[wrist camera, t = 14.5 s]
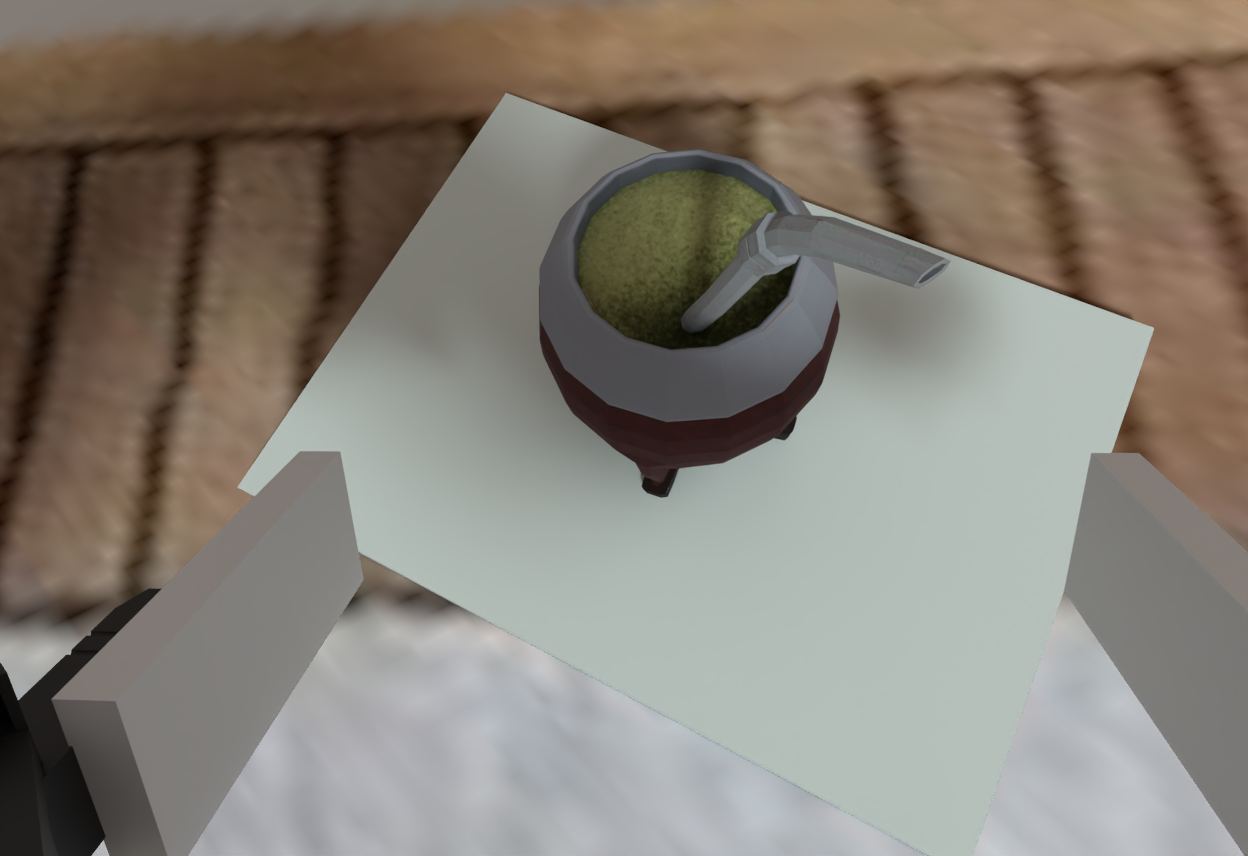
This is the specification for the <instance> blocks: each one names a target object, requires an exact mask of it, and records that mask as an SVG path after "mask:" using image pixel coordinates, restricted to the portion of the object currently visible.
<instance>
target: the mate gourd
mask: <svg viewBox="0 0 1248 856" xmlns="http://www.w3.org/2000/svg"><path fill="white" fill-rule="evenodd" d="M833 262H835V263H838V264H841V265H844V266H847V267H850V268H854V269H857V270H860V271H863V272H866V273H869V274H872V275H876V276H879V277H882V278H885V279H888V280H891V281H895V282H898V283H901V284H904V285H907V286H910V287H914V288H917V289H919V288H921V287H922V286H924V285H926V284H928V283H929V282H931V281H932V280H934V279H935V278H936V277H937V276H939V275H940V274H941V273H943V272H944V271H945V269H946V268H947V266H948V265H949V263H950V262H951V261H950V260H948V259H946V258H943V257H941V256H938V255H936V254H933V253H931V252H929V251H926V250H924V249H921V248H918V247H916V246H913V245H910V244H907V243H904V242H902V241H899V240H896V239H893V238H891V237H888V236H885V235H882V234H879V233H877V232H874V231H871V230H868V229H866V228H863V227H860V226H857V225H855V224H852V223H849V222H846V221H843V220H841V219H838V218H835V217H826V216H815V215H812V214H811V213H810V211H809V210H808V209H807V207H806V206H805V204H804V203H803V201H802V200H801V198H800V197H799V196H798V195H797V194H796V193H795V192H794V191H793V190H792V189H790V188H789V187H787V186H786V185H784V184H783V183H781V182H780V181H778V180H777V179H775V178H774V177H772V176H771V175H769V174H768V173H766V172H765V171H763V170H762V169H760V168H759V167H757V166H756V165H754V164H753V163H751V162H749V161H747V160H745V159H741V158H736V157H732V156H728V155H724V154H719V153H715V152H711V151H707V150H702V149H692V150H681V151H670V152H659V153H652V154H650V155H647V156H645V157H643V158H640V159H638V160H636V161H634V162H631V163H629V164H627V165H625V166H622V167H620V168H618V169H615V170H613V171H611V172H609V173H608V174H606V175H604V176H603V177H602V178H601V179H600V180H599V181H598V182H597V183H596V184H595V185H593V186H592V187H591V188H590V189H589V190H588V191H587V192H586V193H585V194H584V195H583V196H582V197H581V198H580V199H579V200H578V201H577V202H576V203H575V204H574V205H573V206H571V207H570V208H569V209H568V211H567V212H566V213H565V214H564V216H563V217H562V218H561V220H560V222H559V224H558V227H557V229H556V231H555V233H554V236H553V238H552V240H551V242H550V245H549V247H548V249H547V251H546V254H545V256H544V258H543V260H542V263H541V265H540V268H539V278H540V284H539V333H540V344H541V348H542V353H543V356H544V358H545V360H546V362H547V364H548V367H549V369H550V371H551V373H552V375H553V377H554V379H555V381H556V383H557V385H558V387H559V389H560V391H561V394H562V396H563V398H564V400H565V402H566V404H567V405H568V407H569V408H570V410H571V411H572V413H573V414H574V415H575V416H576V417H577V418H579V419H580V420H581V421H582V422H583V423H584V424H586V425H587V426H588V427H589V428H590V429H591V430H593V431H594V432H595V433H596V434H597V435H598V436H600V437H601V438H602V439H603V440H604V441H605V442H607V443H608V444H609V445H610V446H611V447H613V448H614V449H615V450H616V451H618V452H619V453H621V454H622V455H624V456H625V457H627V458H628V459H630V460H632V461H633V462H635V463H636V465H637V467H638V468H639V470H640V472H641V474H642V475H643V476H644V479H643V483H642V488H643V489H644V491H645V492H646V493H648V494H651V495H654V496H657V497H660V498H663V497H668V495H669V493H670V491H671V488H672V486H673V484H674V481H675V478H676V476H677V473H678V470H679V468H687V467H696V466H704V465H713V464H721V463H725V462H727V461H729V460H731V459H733V458H735V457H737V456H739V455H741V454H743V453H746V452H748V451H750V450H752V449H754V448H756V447H758V446H760V445H762V444H764V443H766V442H768V441H770V440H772V439H773V438H775V439H779V440H784V441H785V440H786V439H787V438H788V437H789V435H790V434H791V433H792V432H793V430H794V427H795V424H796V420H797V415H798V413H799V412H800V411H801V410H802V409H803V408H804V407H805V406H806V405H807V404H808V403H809V401H810V400H811V399H812V398H813V397H814V396H815V395H816V393H817V392H818V390H819V388H820V386H821V385H822V383H823V379H824V376H825V373H826V369H827V366H828V363H829V359H830V356H831V353H832V349H833V346H834V343H835V339H836V336H837V333H838V327H839V320H840V312H839V306H838V301H837V298H838V295H839V294H838V288H837V282H836V276H835V269H834V263H833Z"/></svg>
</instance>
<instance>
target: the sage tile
mask: <svg viewBox="0 0 1248 856" xmlns="http://www.w3.org/2000/svg"><path fill="white" fill-rule="evenodd" d="M659 152H667V151H665V150H662V149H659V148H656V147H654V146H651V145H648V144H645V143H643V142H640V141H637V140H634V139H632V138H629V137H626V136H623V135H621V134H618V133H615V132H612V131H610V130H607V129H604V128H601V127H599V126H596V125H593V124H590V123H588V122H585V121H582V120H579V119H577V118H574V117H571V116H568V115H566V114H563V113H560V112H557V111H554V110H552V109H549V108H546V107H543V106H541V105H538V104H535V103H532V102H530V101H527V100H524V99H521V98H519V97H516V96H513V95H510V94H508V93H506V94H505V95H504V97H503V98H502V100H501V101H500V103H499V104H498V106H497V107H496V108H495V110H494V111H493V113H492V114H491V116H490V117H489V119H488V120H487V122H486V123H485V125H484V126H483V128H482V129H481V130H480V132H479V133H478V135H477V136H476V138H475V139H474V141H473V142H472V144H471V145H470V147H469V148H468V150H467V151H466V152H465V154H464V155H463V157H462V158H461V160H460V161H459V163H458V164H457V166H456V167H455V169H454V170H453V172H452V173H451V174H450V176H449V177H448V179H447V180H446V182H445V183H444V185H443V186H442V188H441V189H440V191H439V192H438V194H437V195H436V197H435V198H434V199H433V201H432V202H431V204H430V205H429V207H428V208H427V210H426V211H425V213H424V214H423V216H422V217H421V219H420V220H419V221H418V223H417V224H416V226H415V227H414V229H413V230H412V232H411V233H410V235H409V236H408V238H407V239H406V241H405V242H404V243H403V245H402V246H401V248H400V249H399V251H398V252H397V254H396V255H395V257H394V258H393V260H392V261H391V263H390V264H389V265H388V267H387V268H386V270H385V271H384V273H383V274H382V276H381V277H380V279H379V280H378V282H377V283H376V285H375V286H374V287H373V289H372V290H371V292H370V293H369V295H368V296H367V298H366V299H365V301H364V302H363V304H362V305H361V307H360V308H359V309H358V311H357V312H356V314H355V315H354V317H353V318H352V320H351V321H350V323H349V324H348V326H347V327H346V329H345V330H344V331H343V333H342V334H341V336H340V337H339V339H338V340H337V342H336V343H335V345H334V346H333V348H332V349H331V351H330V352H329V353H328V355H327V356H326V358H325V359H324V361H323V362H322V364H321V365H320V367H319V368H318V370H317V371H316V373H315V374H314V375H313V377H312V378H311V380H310V381H309V383H308V384H307V386H306V387H305V389H304V390H303V392H302V393H301V395H300V396H299V397H298V399H297V400H296V402H295V403H294V405H293V406H292V408H291V409H290V411H289V412H288V414H287V415H286V417H285V418H284V419H283V421H282V422H281V424H280V425H279V427H278V428H277V430H276V431H275V433H274V434H273V436H272V437H271V439H270V440H269V441H268V443H267V444H266V446H265V447H264V449H263V450H262V452H261V453H260V455H259V456H258V458H257V459H256V461H255V462H254V463H253V465H252V466H251V468H250V469H249V471H248V472H247V474H246V475H245V477H244V478H243V480H242V481H241V483H240V484H239V485H238V488H240V489H241V490H243V491H245V492H246V493H248V494H249V495H251V496H253V497H254V496H255V495H256V494H257V493H258V492H259V491H260V490H261V489H262V488H263V487H264V486H265V485H266V484H267V483H268V482H269V481H270V480H271V479H272V478H273V477H274V476H275V475H276V474H277V473H278V472H279V471H280V470H281V469H282V468H283V467H284V466H285V465H286V464H287V463H288V462H289V461H290V460H291V459H292V458H293V457H294V456H295V455H296V454H297V453H299V452H300V451H340V453H341V458H342V464H343V469H344V475H345V480H346V486H347V491H348V497H349V502H350V508H351V514H352V519H353V525H354V530H355V536H356V541H357V547H358V552H359V553H360V554H362V555H364V556H366V557H368V558H369V559H371V560H373V561H375V562H377V563H379V564H381V565H383V566H384V567H386V568H388V569H390V570H392V571H394V572H396V573H398V574H399V575H401V576H403V577H405V578H407V579H409V580H411V581H413V582H415V583H416V584H418V585H420V586H422V587H424V588H426V589H428V590H430V591H431V592H433V593H435V594H437V595H439V596H441V597H443V598H445V599H446V600H448V601H450V602H452V603H454V604H456V605H458V606H460V607H461V608H463V609H465V610H467V611H469V612H471V613H473V614H475V615H476V616H478V617H480V618H482V619H484V620H486V621H488V622H490V623H491V624H493V625H495V626H497V627H499V628H501V629H503V630H505V631H507V632H508V633H510V634H512V635H514V636H516V637H518V638H520V639H522V640H523V641H525V642H527V643H529V644H531V645H533V646H535V647H537V648H538V649H540V650H542V651H544V652H546V653H548V654H550V655H552V656H553V657H555V658H557V659H559V660H561V661H563V662H565V663H567V664H568V665H570V666H572V667H574V668H576V669H578V670H580V671H582V672H583V673H585V674H587V675H589V676H591V677H593V678H595V679H597V680H598V681H600V682H602V683H604V684H606V685H608V686H610V687H612V688H614V689H615V690H617V691H619V692H621V693H623V694H625V695H627V696H629V697H630V698H632V699H634V700H636V701H638V702H640V703H642V704H644V705H645V706H647V707H649V708H651V709H653V710H655V711H657V712H659V713H660V714H662V715H664V716H666V717H668V718H670V719H672V720H674V721H675V722H677V723H679V724H681V725H683V726H685V727H687V728H689V729H690V730H692V731H694V732H696V733H698V734H700V735H702V736H704V737H706V738H707V739H709V740H711V741H713V742H715V743H717V744H719V745H721V746H722V747H724V748H726V749H728V750H730V751H732V752H734V753H736V754H737V755H739V756H741V757H743V758H745V759H747V760H749V761H751V762H752V763H754V764H756V765H758V766H760V767H762V768H764V769H766V770H767V771H769V772H771V773H773V774H775V775H777V776H779V777H781V778H782V779H784V780H786V781H788V782H790V783H792V784H794V785H796V786H797V787H799V788H801V789H803V790H805V791H807V792H809V793H811V794H813V795H814V796H816V797H818V798H820V799H822V800H824V801H826V802H828V803H829V804H831V805H833V806H835V807H837V808H839V809H841V810H843V811H844V812H846V813H848V814H850V815H852V816H854V817H856V818H858V819H859V820H861V821H863V822H865V823H867V824H869V825H871V826H873V827H874V828H876V829H878V830H880V831H882V832H884V833H886V834H888V835H889V836H891V837H893V838H895V839H897V840H899V841H901V842H903V843H904V844H906V845H908V846H910V847H912V848H914V849H916V850H918V851H920V852H921V853H923V854H925V855H927V856H973V854H974V851H975V848H976V845H977V842H978V839H979V836H980V833H981V831H982V828H983V825H984V822H985V819H986V816H987V813H988V810H989V807H990V804H991V801H992V799H993V796H994V793H995V790H996V787H997V784H998V781H999V778H1000V775H1001V772H1002V769H1003V767H1004V764H1005V761H1006V758H1007V755H1008V752H1009V749H1010V746H1011V743H1012V740H1013V737H1014V735H1015V732H1016V729H1017V726H1018V723H1019V720H1020V717H1021V714H1022V711H1023V708H1024V705H1025V703H1026V700H1027V697H1028V694H1029V691H1030V688H1031V685H1032V682H1033V679H1034V676H1035V673H1036V671H1037V668H1038V665H1039V662H1040V659H1041V656H1042V653H1043V650H1044V647H1045V644H1046V641H1047V639H1048V636H1049V633H1050V630H1051V627H1052V624H1053V621H1054V618H1055V615H1056V612H1057V610H1058V607H1059V604H1060V601H1061V598H1062V595H1063V592H1064V588H1065V583H1066V578H1067V573H1068V568H1069V563H1070V558H1071V553H1072V548H1073V542H1074V537H1075V532H1076V527H1077V522H1078V517H1079V512H1080V507H1081V502H1082V497H1083V492H1084V487H1085V482H1086V477H1087V472H1088V467H1089V462H1090V457H1091V453H1111V452H1112V450H1113V447H1114V444H1115V441H1116V438H1117V435H1118V432H1119V429H1120V426H1121V423H1122V420H1123V418H1124V415H1125V412H1126V409H1127V406H1128V403H1129V400H1130V397H1131V394H1132V391H1133V388H1134V386H1135V383H1136V380H1137V377H1138V374H1139V371H1140V368H1141V365H1142V362H1143V359H1144V356H1145V354H1146V351H1147V348H1148V345H1149V342H1150V339H1151V336H1152V333H1153V330H1154V328H1153V327H1150V326H1147V325H1144V324H1142V323H1139V322H1136V321H1133V320H1130V319H1128V318H1125V317H1122V316H1119V315H1117V314H1114V313H1111V312H1108V311H1106V310H1103V309H1100V308H1097V307H1095V306H1092V305H1089V304H1086V303H1084V302H1081V301H1078V300H1075V299H1073V298H1070V297H1067V296H1064V295H1062V294H1059V293H1056V292H1053V291H1051V290H1048V289H1045V288H1042V287H1040V286H1037V285H1034V284H1031V283H1029V282H1026V281H1023V280H1020V279H1017V278H1015V277H1012V276H1009V275H1006V274H1004V273H1001V272H998V271H995V270H993V269H990V268H987V267H984V266H982V265H979V264H976V263H973V262H971V261H968V260H965V259H962V258H960V257H957V256H954V255H951V254H949V253H946V252H943V251H940V250H938V249H935V248H932V247H929V246H927V245H924V244H921V243H918V242H916V241H913V240H910V239H907V238H905V237H902V236H899V235H896V234H893V233H891V232H888V231H885V230H882V229H880V228H877V227H874V226H871V225H869V224H866V223H863V222H860V221H858V220H855V219H852V218H849V217H847V216H844V215H841V214H838V213H836V212H833V211H830V210H827V209H825V208H822V207H819V206H816V205H814V204H811V203H808V202H805V201H803V200H802V201H803V203H804V204H805V206H806V207H807V209H808V210H809V211H810V213H811V214H812V215H815V216H826V217H835V218H838V219H841V220H843V221H846V222H849V223H852V224H855V225H857V226H860V227H863V228H866V229H868V230H871V231H874V232H877V233H879V234H882V235H885V236H888V237H891V238H893V239H896V240H899V241H902V242H904V243H907V244H910V245H913V246H916V247H918V248H921V249H924V250H926V251H929V252H931V253H933V254H936V255H938V256H941V257H943V258H946V259H948V260H950V261H951V262H950V263H949V265H948V266H947V268H946V269H945V271H944V272H943V273H941V274H940V275H939V276H937V277H936V278H935V279H934V280H932V281H931V282H929V283H928V284H926V285H924V286H922V287H921V288H919V289H917V288H914V287H910V286H907V285H904V284H901V283H898V282H895V281H891V280H888V279H885V278H882V277H879V276H876V275H872V274H869V273H866V272H863V271H860V270H857V269H854V268H850V267H847V266H844V265H841V264H838V263H835V262H833V263H834V269H835V276H836V282H837V288H838V294H839V295H838V298H837V301H838V306H839V312H840V320H839V327H838V333H837V336H836V339H835V343H834V346H833V349H832V353H831V356H830V359H829V363H828V366H827V369H826V373H825V376H824V379H823V383H822V385H821V386H820V388H819V390H818V392H817V393H816V395H815V396H814V397H813V398H812V399H811V400H810V401H809V403H808V404H807V405H806V406H805V407H804V408H803V409H802V410H801V411H800V412H799V413H798V415H797V420H796V424H795V427H794V430H793V432H792V433H791V434H790V435H789V437H788V438H787V439H786V440H785V441H784V440H779V439H775V438H773V439H772V440H770V441H768V442H766V443H764V444H762V445H760V446H758V447H756V448H754V449H752V450H750V451H748V452H746V453H743V454H741V455H739V456H737V457H735V458H733V459H731V460H729V461H727V462H725V463H721V464H713V465H704V466H696V467H687V468H679V470H678V473H677V476H676V478H675V481H674V484H673V486H672V488H671V491H670V493H669V495H668V497H663V498H660V497H657V496H654V495H651V494H648V493H646V492H645V491H644V489H643V488H642V483H643V479H644V476H643V475H642V474H641V472H640V470H639V468H638V467H637V465H636V463H635V462H633V461H632V460H630V459H628V458H627V457H625V456H624V455H622V454H621V453H619V452H618V451H616V450H615V449H614V448H613V447H611V446H610V445H609V444H608V443H607V442H605V441H604V440H603V439H602V438H601V437H600V436H598V435H597V434H596V433H595V432H594V431H593V430H591V429H590V428H589V427H588V426H587V425H586V424H584V423H583V422H582V421H581V420H580V419H579V418H577V417H576V416H575V415H574V414H573V413H572V411H571V410H570V408H569V407H568V405H567V404H566V402H565V400H564V398H563V396H562V394H561V391H560V389H559V387H558V385H557V383H556V381H555V379H554V377H553V375H552V373H551V371H550V369H549V367H548V364H547V362H546V360H545V358H544V356H543V353H542V348H541V344H540V333H539V284H540V278H539V268H540V265H541V263H542V260H543V258H544V256H545V254H546V251H547V249H548V247H549V245H550V242H551V240H552V238H553V236H554V233H555V231H556V229H557V227H558V224H559V222H560V220H561V218H562V217H563V216H564V214H565V213H566V212H567V211H568V209H569V208H570V207H571V206H573V205H574V204H575V203H576V202H577V201H578V200H579V199H580V198H581V197H582V196H583V195H584V194H585V193H586V192H587V191H588V190H589V189H590V188H591V187H592V186H593V185H595V184H596V183H597V182H598V181H599V180H600V179H601V178H602V177H603V176H604V175H606V174H608V173H609V172H611V171H613V170H615V169H618V168H620V167H622V166H625V165H627V164H629V163H631V162H634V161H636V160H638V159H640V158H643V157H645V156H647V155H650V154H652V153H659Z"/></svg>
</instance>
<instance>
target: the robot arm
mask: <svg viewBox="0 0 1248 856" xmlns="http://www.w3.org/2000/svg"><path fill="white" fill-rule="evenodd" d="M362 581H363V574H362V569H361V563H360V558H359V552H358V547H357V541H356V536H355V530H354V525H353V519H352V514H351V508H350V502H349V497H348V491H347V486H346V480H345V475H344V469H343V464H342V458H341V453H340V451H300V452H299V453H297V454H296V455H295V456H294V457H293V458H292V459H291V460H290V461H289V462H288V463H287V464H286V465H285V466H284V467H283V468H282V469H281V470H280V471H279V472H278V473H277V474H276V475H275V476H274V477H273V478H272V479H271V480H270V481H269V482H268V483H267V484H266V485H265V486H264V487H263V488H262V489H261V490H260V491H259V492H258V493H257V494H256V495H255V496H254V497H253V498H252V499H251V500H250V501H249V502H248V503H247V504H246V505H245V506H244V507H243V508H242V509H241V510H240V511H239V512H238V513H237V514H236V515H235V516H234V517H233V518H232V519H231V520H230V521H229V522H228V523H227V524H226V525H225V526H224V527H223V528H222V529H221V530H220V531H219V532H218V533H217V534H216V535H215V536H214V537H213V538H212V539H211V540H210V541H209V542H208V543H207V544H206V545H205V546H204V547H203V548H202V549H201V550H200V551H199V552H198V553H197V554H196V555H195V556H194V557H193V558H192V559H191V560H190V561H189V562H188V563H187V564H186V565H185V566H184V567H183V568H182V569H181V570H180V571H179V572H178V573H177V574H176V575H175V576H174V577H173V578H172V579H171V580H170V581H169V582H168V583H167V584H166V585H165V586H164V587H163V588H162V589H148V590H146V591H144V592H142V593H141V594H139V595H137V596H136V597H134V598H132V599H130V600H129V601H127V602H125V603H124V604H122V605H120V606H118V607H117V608H115V609H114V610H113V611H112V612H111V613H110V614H109V615H108V616H107V617H106V618H105V619H103V620H102V621H101V622H100V623H99V624H98V625H97V626H96V627H95V628H94V629H93V630H92V631H91V636H86V637H85V638H84V639H82V640H81V641H80V642H79V643H78V644H77V645H76V646H75V647H74V648H73V649H72V653H71V655H66V656H65V657H64V658H63V659H61V660H60V661H59V662H58V663H57V664H56V665H55V666H54V667H53V668H52V669H51V670H50V671H49V672H48V673H47V674H46V675H45V676H44V677H43V678H41V679H40V680H39V681H38V682H37V683H36V684H35V685H34V686H33V687H32V688H31V689H30V690H29V691H28V692H27V693H26V694H25V695H24V696H23V697H22V698H20V699H19V700H17V697H16V695H15V692H14V690H13V687H12V684H11V682H10V679H9V677H8V674H7V672H6V671H5V669H4V667H3V666H2V664H1V663H0V856H91V855H92V854H93V853H94V851H95V850H96V849H97V848H98V846H99V845H100V844H101V842H102V841H103V840H104V842H105V845H106V847H107V850H108V853H109V855H110V856H188V855H189V853H190V852H191V850H192V848H193V847H194V845H195V844H196V842H197V841H198V839H199V837H200V836H201V834H202V833H203V831H204V830H205V828H206V826H207V825H208V823H209V822H210V820H211V819H212V817H213V815H214V814H215V812H216V811H217V809H218V808H219V806H220V804H221V803H222V801H223V800H224V798H225V797H226V795H227V793H228V792H229V790H230V789H231V787H232V786H233V784H234V782H235V781H236V779H237V778H238V776H239V775H240V773H241V771H242V770H243V768H244V767H245V765H246V764H247V762H248V760H249V759H250V757H251V756H252V754H253V753H254V751H255V749H256V748H257V746H258V745H259V743H260V742H261V740H262V738H263V737H264V735H265V734H266V732H267V731H268V729H269V727H270V726H271V724H272V723H273V721H274V720H275V718H276V716H277V715H278V713H279V712H280V710H281V709H282V707H283V705H284V704H285V702H286V701H287V699H288V698H289V696H290V694H291V693H292V691H293V690H294V688H295V687H296V685H297V683H298V682H299V680H300V679H301V677H302V676H303V674H304V672H305V671H306V669H307V668H308V666H309V665H310V663H311V661H312V660H313V658H314V657H315V655H316V654H317V652H318V650H319V649H320V647H321V646H322V644H323V643H324V641H325V639H326V638H327V636H328V635H329V633H330V632H331V630H332V628H333V627H334V625H335V624H336V622H337V621H338V619H339V617H340V616H341V614H342V613H343V611H344V610H345V608H346V606H347V605H348V603H349V602H350V600H351V599H352V597H353V595H354V594H355V592H356V591H357V589H358V588H359V586H360V584H361V583H362ZM1064 591H1065V593H1066V594H1067V596H1068V597H1069V599H1070V600H1071V602H1072V603H1073V604H1074V606H1075V607H1076V609H1077V610H1078V612H1079V613H1080V615H1081V616H1082V618H1083V619H1084V621H1085V622H1086V624H1087V625H1088V626H1089V628H1090V629H1091V631H1092V632H1093V634H1094V635H1095V637H1096V638H1097V640H1098V641H1099V643H1100V644H1101V646H1102V647H1103V648H1104V650H1105V651H1106V653H1107V654H1108V656H1109V657H1110V659H1111V660H1112V662H1113V663H1114V665H1115V666H1116V668H1117V669H1118V671H1119V672H1120V673H1121V675H1122V676H1123V678H1124V679H1125V681H1126V682H1127V684H1128V685H1129V687H1130V688H1131V690H1132V691H1133V693H1134V694H1135V695H1136V697H1137V698H1138V700H1139V701H1140V703H1141V704H1142V706H1143V707H1144V709H1145V710H1146V712H1147V713H1148V715H1149V716H1150V717H1151V719H1152V720H1153V722H1154V723H1155V725H1156V726H1157V728H1158V729H1159V731H1160V732H1161V734H1162V735H1163V737H1164V738H1165V740H1166V741H1167V742H1168V744H1169V745H1170V747H1171V748H1172V750H1173V751H1174V753H1175V754H1176V756H1177V757H1178V759H1179V760H1180V762H1181V763H1182V764H1183V766H1184V767H1185V769H1186V770H1187V772H1188V773H1189V775H1190V776H1191V778H1192V779H1193V781H1194V782H1195V784H1196V785H1197V787H1198V788H1199V789H1200V791H1201V792H1202V794H1203V795H1204V797H1205V798H1206V800H1207V801H1208V803H1209V804H1210V806H1211V807H1212V809H1213V810H1214V811H1215V813H1216V814H1217V816H1218V817H1219V819H1220V820H1221V822H1222V823H1223V825H1224V826H1225V828H1226V829H1227V831H1228V832H1229V833H1230V835H1231V836H1232V838H1233V839H1234V841H1235V842H1236V844H1237V845H1238V847H1239V848H1240V850H1241V851H1242V853H1243V854H1244V856H1248V552H1247V551H1246V550H1245V549H1244V548H1243V547H1242V546H1240V545H1239V544H1238V543H1237V542H1236V541H1235V540H1234V539H1233V538H1232V537H1231V536H1229V535H1228V534H1227V533H1226V532H1225V531H1224V530H1223V529H1222V528H1221V527H1219V526H1218V525H1217V524H1216V523H1215V522H1214V521H1213V520H1212V519H1211V518H1210V517H1208V516H1207V515H1206V514H1205V513H1204V512H1203V511H1202V510H1201V509H1200V508H1199V507H1197V506H1196V505H1195V504H1194V503H1193V502H1192V501H1191V500H1190V499H1189V498H1188V497H1186V496H1185V495H1184V494H1183V493H1182V492H1181V491H1180V490H1179V489H1178V488H1177V487H1175V486H1174V485H1173V484H1172V483H1171V482H1170V481H1169V480H1168V479H1167V478H1165V477H1164V476H1163V475H1162V474H1161V473H1160V472H1159V471H1158V470H1157V469H1156V468H1154V467H1153V466H1152V465H1151V464H1150V463H1149V462H1148V461H1147V460H1146V459H1145V458H1143V457H1142V456H1141V455H1140V454H1139V453H1091V457H1090V462H1089V467H1088V472H1087V477H1086V482H1085V487H1084V492H1083V497H1082V502H1081V507H1080V512H1079V517H1078V522H1077V527H1076V532H1075V537H1074V542H1073V548H1072V553H1071V558H1070V563H1069V568H1068V573H1067V578H1066V583H1065V588H1064Z"/></svg>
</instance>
